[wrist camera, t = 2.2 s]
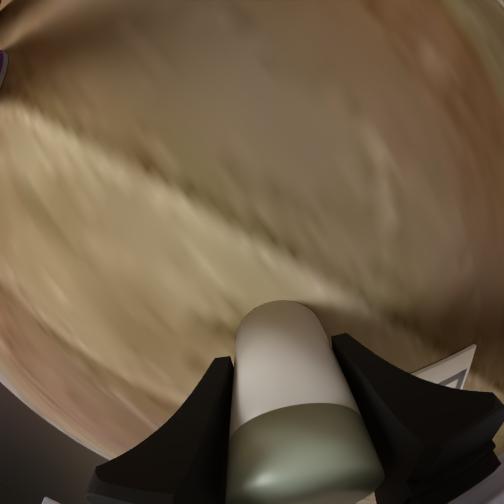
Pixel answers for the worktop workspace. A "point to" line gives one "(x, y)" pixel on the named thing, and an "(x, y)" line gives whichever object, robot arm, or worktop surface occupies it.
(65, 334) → the worktop surface
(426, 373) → the paper sheet
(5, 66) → the container
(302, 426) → the marker
